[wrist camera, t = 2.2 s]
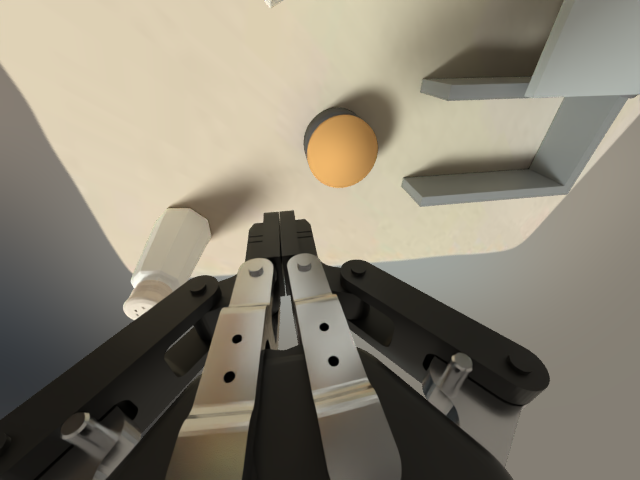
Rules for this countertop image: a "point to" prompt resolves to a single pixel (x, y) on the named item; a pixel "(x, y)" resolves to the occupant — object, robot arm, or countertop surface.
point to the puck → (340, 147)
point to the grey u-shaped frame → (550, 161)
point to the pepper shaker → (167, 258)
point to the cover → (590, 51)
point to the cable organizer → (272, 2)
